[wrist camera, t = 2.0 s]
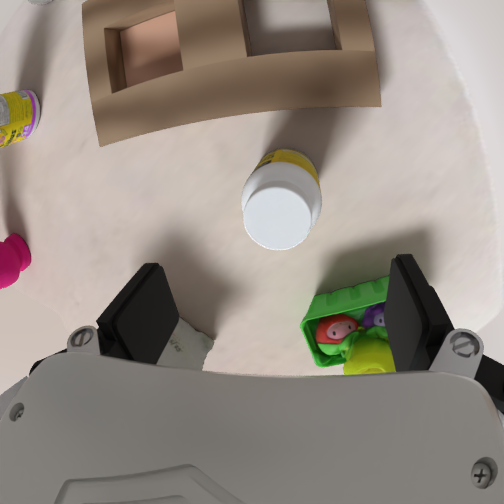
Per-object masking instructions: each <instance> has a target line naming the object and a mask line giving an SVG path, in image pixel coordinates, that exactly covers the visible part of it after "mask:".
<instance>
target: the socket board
mask: <svg viewBox="0 0 504 504" xmlns="http://www.w3.org/2000/svg"><path fill="white" fill-rule="evenodd" d="M327 4H328V8H329V13H330V18H331V23H332V28H333V34H334V39H335V45H336V50H316V51H298V52H285V53H275V54H266V55H259V56H252V52H251V46H250V40H249V34H248V28H247V22H246V16H245V10H244V4H243V0H87V1H86V2H84V3H82V21H83V38H84V50H85V60H86V69H87V77H88V84H89V91H90V98H91V104H92V110H93V115H94V121H95V126H96V131H97V136H98V140H99V145H100V147H102V146H105V145H108V144H112V143H115V142H118V141H122V140H125V139H128V138H132V137H135V136H139V135H143V134H147V133H150V132H154V131H158V130H163V129H167V128H171V127H176V126H180V125H185V124H190V123H195V122H200V121H205V120H211V119H216V118H222V117H229V116H235V115H242V114H250V113H258V112H266V111H276V110H287V109H300V108H318V107H382V106H381V94H380V85H379V76H378V68H377V61H376V54H375V48H374V42H373V36H372V31H371V26H370V21H369V16H368V12H367V7H366V3H365V0H327Z"/></svg>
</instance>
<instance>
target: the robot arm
mask: <svg viewBox="0 0 504 504" xmlns="http://www.w3.org/2000/svg"><path fill="white" fill-rule="evenodd" d="M28 1H29V2H30V3H31V4H37V5H42V4H46V3H49V2H51V1H53V0H28ZM96 322H97V324H98V326H99V328H98V329H96V328H95V327H94V326H83V327H80V328H78V329H77V330H75V331H74V332H73V333H72V334H71V335H70V336H69V338H68V342H67V349H65V350H62V351H60V352H58V353H55V354H53V355H51V356H49V357H46V358H44V359H42V360H39V361H37V362H35V363H34V365H33V366H32V368H31V370H30V373H29V377H27V376H26V377H24V378H23V379H22V380H20V381H19V382H18V383H16V384H15V385H13V386H12V387H11V388H9V389H8V390H7V391H5V392H4V393H3V394H1V395H0V504H504V365H502V364H501V363H498V362H497V361H495V360H493V359H491V358H489V357H487V356H485V355H483V350H484V346H483V342H482V340H481V338H480V337H479V336H478V335H477V334H476V333H474V332H472V331H471V330H467V329H454V327H453V325H452V323H451V321H450V319H449V317H448V314H447V312H446V311H445V309H444V307H443V305H442V303H441V301H440V299H439V297H438V295H437V293H436V291H435V290H434V288H433V287H432V286H429V284H428V282H427V280H426V278H425V277H424V275H423V273H422V271H421V270H420V268H419V266H418V264H417V263H416V261H415V259H414V258H413V256H412V255H411V254H398V255H397V256H396V258H393V259H392V262H391V269H390V277H389V284H388V290H387V297H386V303H385V308H384V324H385V328H386V331H387V335H388V339H389V343H390V348H391V352H392V356H393V360H394V365H395V370H396V372H387V373H372V374H354V375H326V376H282V375H254V374H237V373H224V372H212V371H202V370H193V369H184V368H176V367H169V366H162V365H156V364H157V362H158V360H159V358H160V356H161V354H162V352H163V351H164V349H165V347H166V345H167V343H168V341H169V339H170V337H171V335H172V333H173V332H174V330H175V328H176V326H177V324H178V322H179V314H178V311H177V308H176V305H175V302H174V299H173V297H172V294H171V291H170V288H169V285H168V282H167V279H166V276H165V272H164V269H163V267H162V266H160V265H159V264H158V263H145V264H144V265H143V266H142V267H141V268H140V269H139V270H138V271H137V273H136V274H135V275H134V276H133V277H132V278H131V279H130V281H129V282H128V283H127V284H126V285H125V286H124V288H123V289H122V290H121V291H120V292H119V294H118V295H117V296H116V297H115V298H114V300H113V301H112V302H111V303H110V304H109V306H108V307H107V308H106V309H105V311H104V312H103V313H102V314H101V315H100V317H99V318H98V319H97V320H96Z"/></svg>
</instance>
